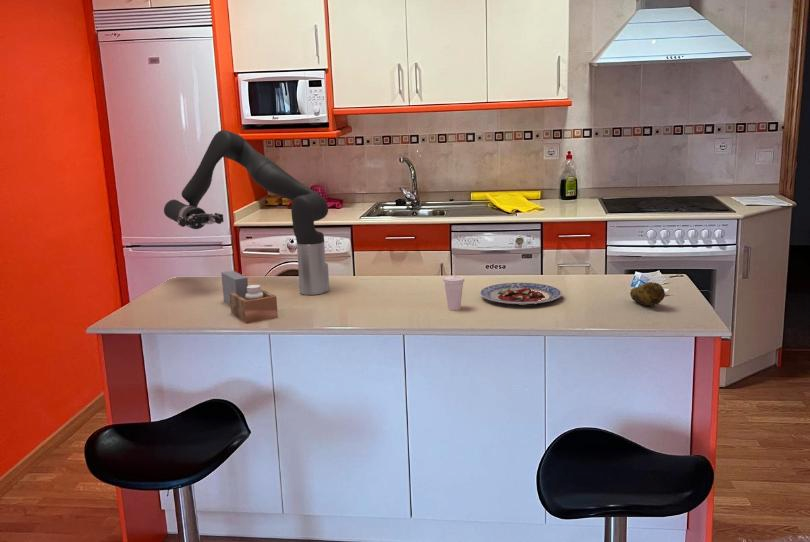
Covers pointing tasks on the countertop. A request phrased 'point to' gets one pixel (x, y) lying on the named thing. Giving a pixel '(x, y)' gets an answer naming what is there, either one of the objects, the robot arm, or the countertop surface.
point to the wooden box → (254, 307)
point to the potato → (648, 293)
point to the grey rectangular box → (233, 285)
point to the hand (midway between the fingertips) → (207, 222)
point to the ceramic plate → (520, 293)
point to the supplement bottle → (253, 292)
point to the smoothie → (454, 290)
